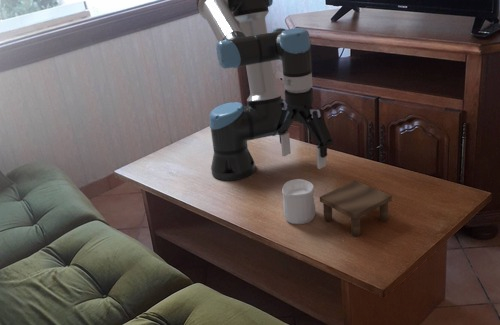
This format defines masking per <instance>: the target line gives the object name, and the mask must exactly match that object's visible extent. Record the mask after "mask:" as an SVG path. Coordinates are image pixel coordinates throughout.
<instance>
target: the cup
mask: <svg viewBox="0 0 500 325" xmlns="http://www.w3.org/2000/svg"><path fill="white" fill-rule="evenodd" d="M281 189H282V190H281V192H282V198H283V209H282V210H283V215H284V218H285V221H286V222H288V223H290V224H293V225H304V224H308V223H310V222H311V221H313V219H314V218H315V215H316V203H315V202H316V201H315V193H314V192H315V186H314V185H313V183H312V182H310V181H308V180H306V179H302V178H297V179H291V180H288V181H286V182H285V183H284V184H283V186H282V188H281Z"/></svg>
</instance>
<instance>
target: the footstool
mask: <svg viewBox="0 0 500 325" xmlns="http://www.w3.org/2000/svg"><path fill="white" fill-rule="evenodd" d="M392 199H393V198H392V195H391V194H388V193H386V192H384V191H381V190H379V189H377V188H375V187H372V186H370V185H368V184H365V183H363V182H360V181H358V180H356V179H354V180H353V181H349V182H347V183H346V184H343V185H342V186H340V187H338V188H336V189H333V190H331V191H329V192H327V193H325V194H322V195H321V196H319V202H320V203H322V207H323V221H324V222H326V223H330V222H332V221H333V219H334V218H333V209H334V210H336V211H338V212H340V213H341V214H344V215H346V216H347V217H349V218H350V224H351V225H350V226H351V227H350V228H351V236H352V237H356V238H357V237H360V236H361V217H363V216H365V215H366V214H368V213H371V212H373V211H375V210H376V209H378V208H379V221H381V222H388V221H389V203H390V202H391V201H392Z"/></svg>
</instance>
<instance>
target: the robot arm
mask: <svg viewBox="0 0 500 325" xmlns="http://www.w3.org/2000/svg"><path fill="white" fill-rule="evenodd" d="M273 2H274V0H196V8H197V11H198V13H199V15H200V16H201V17H202V18H203V19H204V20H206V21H207V23H208V24H209V27H210V28H211V31H212V32H213V34H214V36H215V38H216V41H217V43H216V56H217V60H218V62H219V66H220V67H221V68H223V69H235V68H240V67H246V68H245V69H246V73H247V74H246V75H247V79H248V80H247V81H248V86H249V96H248V97H247V99H246V102H247V105H243V103H241V102H238V101H237V102H236V101H235V102H232V101H231V102H227V103H226V102H225V103H222V104H220V105H218V106H216V107H214V108H213V109H212V110H211V111H210V113H209V116H208V117H209V118H208V119H209V129H210V132H211V133H210V134H211V140H212V146H213V147H212V148H213V156H212V159H211V160H212V161H211V168H210V170H211V175H212V177H213V178H215V179H216V180H217V179H218V180H222V181H237V180H241V179H244V178H246V177H249V176H250V175H252V174H253V173H254V172H255V171H256V164H255V160H254V158H253V156H252V155H251V152H250V150H249V148H248V146H249V145H248V142H249V141H253V140H258V139H262V138H263V139H264V138H266V137H275V136H277V135H278V136H279V143H280V145H281V156H282V157H287V156H288V155H291V141H290V140H291V139H290V132H288V131H289V128H290V127H291V125H292V124H293V123H294V122H295V123H296V122H299V123H300V124H303V126H304V127H306V128H307V129H308V131H309V132H310V134H311V136H312V138H313V139H314V140H315V142H316V144H317V145H316V147H315V148H316V150H315V151H316V163H317V164H316V167H317V169H319V170H320V169H322V168H325V167H326V166H327V158H326V157H327V156H328V147H329V146H330V145H332V144H333V143H334V141H333V138H332V136H331V133H330V130H329V129H328V127H327V124H326V121H325V119H324V117H323V111H322V109H321V108H318V109H313V106H312V105H313V102H314V88H313V86H314V84H313V74H312V73H313V72H312V54H311V51H312V50H311V40H310V32H309V31H308V30H307V29H306V28H305V29H304V28H301V27H300V28H299V27H298V28H296V27H295V28H288V29H285V28H282V27H276V28H274V29H272V30H271V31H269V32H268V30H267V23H266V17H267V15H268V14H269V13H270V10H269V8H270V7H271V6H272V5H273ZM278 60H280V61H281V63H282V65H281V66H282V74H283V75H282V77H283V86H284V89H285V90H284V98H282V94H281V93H280V92H278V91H277V90H276V84H275V83H276V82H275V79H274V78H275V77H274V70H273V63H272V62H273V61H274V62H275V61H278Z"/></svg>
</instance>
